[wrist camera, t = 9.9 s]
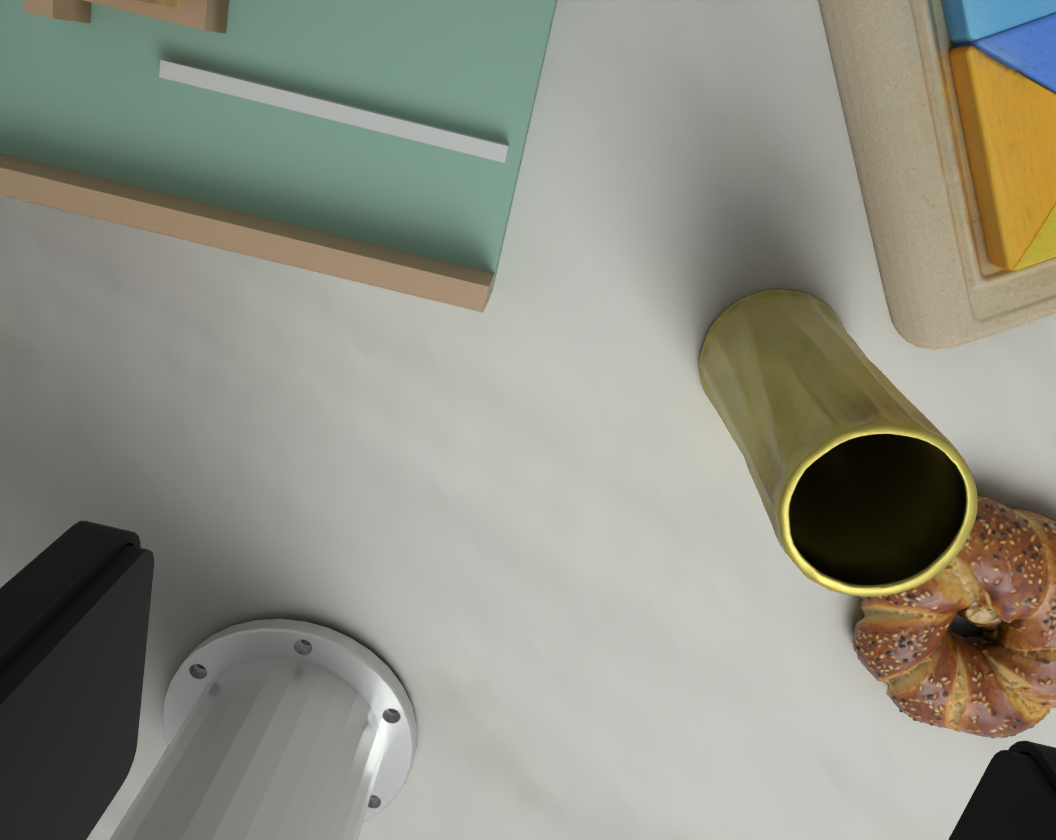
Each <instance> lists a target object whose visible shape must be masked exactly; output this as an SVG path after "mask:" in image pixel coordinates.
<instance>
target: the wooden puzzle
mask: <svg viewBox="0 0 1056 840" xmlns="http://www.w3.org/2000/svg"><path fill="white" fill-rule="evenodd" d="M819 5H820V9H821V14H822V18H823V23H824V27H825V32H826V36H827V41H828V45H829V50H830V54H831V59H832V63H833V68H834V72H835V77H836V81H837V85H838V90H839V94H840V99H841V103H842V108H843V112H844V117H845V121H846V126H847V130H848V134H849V139H850V143H851V148H852V152H853V157H854V161H855V165H856V170H857V174H858V179H859V183H860V187H861V192H862V196H863V201H864V205H865V209H866V214H867V218H868V223H869V227H870V231H871V236H872V240H873V245H874V249H875V253H876V258H877V262H878V267H879V271H880V275H881V280H882V284H883V288H884V292H885V296H886V301H887V305H888V309H889V313H890V317H891V320H892V323H893V325H894V327H895V329H896V330H897V332H898V333H899V334H900V335H901V336H902V337H903V338H904V339H905V340H906V341H908V342H909V343H911V344H913V345H915V346H918V347H921V348H926V349H943V348H950V347H955V346H959V345H963V344H966V343H969V342H972V341H975V340H978V339H981V338H984V337H987V336H990V335H993V334H996V333H999V332H1002V331H1005V330H1008V329H1010V328H1013V327H1016V326H1019V325H1022V324H1025V323H1028V322H1031V321H1034V320H1037V319H1040V318H1043V317H1046V316H1049V315H1052V314H1055V313H1056V0H819Z"/></svg>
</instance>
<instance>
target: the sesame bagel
mask: <svg viewBox="0 0 1056 840" xmlns="http://www.w3.org/2000/svg"><path fill="white" fill-rule="evenodd" d="M977 500H978V505H977V514H976V519H975V522H974V525H973V527H972V530H971V532H970V534H969V536H968V538H967V540H966V542H965V544H964V546H963V547H962V549H961V550H960V552H959V553H958V554H957V555H956V557H955V558H954V559H953V560H952V561H951V562H950V563H949V564H948V565H947V566H946V567H945V568H944V569H943V570H941V571H940V572H939V573H938V574H937V575H935V576H934V577H933V578H932V579H930V580H928V581H927V582H925V583H924V584H922V585H919V586H917V587H915V588H912V589H909V590H906V591H903V592H900V593H896V594H891V595H885V596H875V597H861V596H860V597H861V598H860V601H861V609H862V610H863V612H864V615H865V617H864V618H863V619H862V620H860V621H859V622H857V623H856V626H855V631H854V636H853V640H852V642H853V647H854V650H855V651H856V653H857V655H858V657H857V658H858V659H859V660H860V661H861V663H862V664H863V665H864V666H865V667H866V668H867V670H868V671H869V672H870V673H871V674H872V675H873V676H874V677H875V678H876V680H877V681H883V682H885V683H887V685H888V689H887V692H886V693H887V695H888V696H889V697H890V698H891V700H892V701H893V702H894V703H895V705H896V706H897V707H898V708H899V711H900V712H904V713H905V714H907V715H908V716H909V717H911V718H913V720H914V721H919V722H921V723H927V724H930V725H931V726H932V725H935V726H938V727H944V728H949V729H953V730H955V731H958V732H961V731H962V732H966V733H970V734H974V735H978V736H983V737H990V738H996V737H1001V738H1006V737H1008V736H1015V735H1016V734H1018V733H1021V732H1023V731H1025V730H1027V729H1029V728H1033V727H1034V725H1036V724H1037V723H1039V722H1040V721H1041V720H1042V719H1043V718H1044V717H1045V716H1046V715H1047V714H1048V713H1049V712H1050V711H1049V709H1051V708H1056V521H1055V520H1053V519H1049V518H1048V517H1047V516H1046V517H1044V516H1042V515H1040V514H1036V513H1033V512H1032V511H1027V510H1024V509H1016V508H1015V509H1011V508H1009V507H1007V506H1006V505H1004V504H1002V503H999V502H997V501H995V500H992V499H989V498H987V497H981V496H979V495H977ZM956 615H957V616H958V615H959V616H961V617H962V618H964V619H966V620H967V621H968V622H969V623H972V624H974V625H975V626H979V627H982V632H981V633H982V636H981V637H962V636H961V635H959V634H958V633H956V632H954V631H953V630H952V629H950V628H949V627H950V625H951V623H952V622H953V620H954V618H955V616H956Z"/></svg>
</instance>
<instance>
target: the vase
mask: <svg viewBox="0 0 1056 840" xmlns="http://www.w3.org/2000/svg"><path fill="white" fill-rule="evenodd" d="M699 370H700V377H701V382H702V386H703V389H704V392H705V394H706V395H707V397H708V399H709V400H710V402H711V403H712V404H713V406H714V407H715V409H716V410H717V412H718V414H719V415H720V417H721V419H722V420H723V422H724V424H725V426H726V428H727V429H728V431H729V432H730V434H731V436H732V438H733V439H734V441H735V443H736V444H737V446H738V448H739V449H740V451H741V452H742V454H743V456H744V458H745V461H746V464H747V467H748V469H749V472H750V474H751V476H752V479H753V481H754V483H755V485H756V488H757V490H758V492H759V494H760V497H761V499H762V502H763V504H764V507H765V509H766V512H767V514H768V516H769V519H770V521H771V523H772V526H773V529H774V532H775V535H776V537H777V539H778V541H779V543H780V545H781V547H782V548H783V550H784V551H785V553H786V554H787V555H788V556H789V557H790V559H791V560H792V561H793V562H794V563H795V565H796V566H797V567H798V568H799V569H800V570H801V572H802V573H803V574H804V575H805V576H806V577H807V578H809V579H810V580H812V581H814V582H816V583H817V584H819V585H821V586H823V587H825V588H827V589H829V590H832V591H835V592H839V593H843V594H847V595H853V596H861V597H875V596H885V595H891V594H896V593H900V592H903V591H906V590H909V589H912V588H915V587H917V586H919V585H922V584H924V583H925V582H927V581H928V580H930V579H932V578H933V577H934V576H935V575H937V574H938V573H939V572H940V571H941V570H943V569H944V568H945V567H946V566H947V565H948V564H949V563H950V562H951V561H952V560H953V559H954V558H955V557H956V555H957V554H958V553H959V552H960V550H961V549H962V547H963V546H964V544H965V542H966V540H967V538H968V536H969V534H970V532H971V530H972V527H973V525H974V522H975V519H976V514H977V505H978V500H977V489H976V484H975V481H974V478H973V475H972V473H971V471H970V469H969V467H968V466H967V464H966V462H965V461H964V459H963V458H962V456H961V455H960V453H959V452H958V450H957V449H956V448H955V447H954V446H953V445H952V443H951V442H950V441H949V440H948V439H947V438H946V437H945V436H944V435H943V434H942V433H941V432H940V431H939V430H938V429H937V428H936V427H935V426H934V425H933V424H932V423H931V422H930V421H929V420H928V419H927V418H926V417H925V416H924V415H923V414H922V413H921V412H920V411H919V410H918V409H917V408H916V407H915V406H914V405H913V404H912V403H911V402H910V401H909V400H908V399H907V398H906V397H905V396H904V395H903V394H902V393H901V392H900V391H899V390H898V389H897V388H896V387H895V386H894V385H893V384H892V383H891V382H890V380H889V379H888V378H887V377H886V376H885V375H884V374H883V373H882V372H881V371H880V370H879V369H878V368H877V367H876V366H875V365H874V364H873V363H872V362H871V361H870V360H869V359H868V358H867V357H866V355H865V354H864V353H863V352H862V350H861V349H860V348H859V346H858V345H857V344H856V342H855V341H854V340H853V339H852V337H851V336H850V335H849V334H847V332H846V331H845V329H844V327H843V325H842V323H841V321H840V319H839V318H838V317H837V315H836V314H835V313H834V312H833V311H832V310H831V309H830V308H829V307H828V306H827V305H826V304H824V303H823V302H821V301H820V300H818V299H817V298H815V297H813V296H812V295H810V294H807V293H804V292H799V291H794V290H784V289H772V290H765V291H761V292H757V293H754V294H751V295H749V296H746V297H744V298H742V299H740V300H738V301H736V302H735V303H734V304H732V305H731V306H729V307H728V308H727V309H726V310H725V311H724V312H723V313H722V314H721V315H720V316H719V317H718V318H717V319H716V320H715V322H714V323H713V325H712V326H711V328H710V329H709V331H708V333H707V336H706V338H705V341H704V344H703V347H702V351H701V354H700V359H699Z"/></svg>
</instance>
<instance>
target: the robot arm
mask: <svg viewBox="0 0 1056 840" xmlns="http://www.w3.org/2000/svg"><path fill="white" fill-rule="evenodd" d="M153 567H154V557H153V553H152V552H151V551H150V550H147V549H142V548H140V540H139V536H138V535H137V534H136V533H135V532H130V531H126V530H122V529H118V528H113V527H109V526H105V525H101V524H96V523H92V522H88V521H79V522H78V523H76V524H75V525H73V526H72V527H71V528H70V529H68V530H67V531H66V532H65V533H64V534H63V535H62V536H60V537H59V538H58V539H57V540H56V541H55V542H53V543H52V544H51V545H50V546H49V547H48V548H46V549H45V550H44V551H43V552H42V553H41V554H40V555H38V556H37V557H36V558H35V559H34V560H33V561H31V562H30V563H29V564H28V565H27V566H26V567H25V568H23V569H22V570H21V571H20V572H19V573H18V574H16V575H15V576H14V577H13V578H12V579H11V580H9V581H8V582H7V583H6V584H5V585H4V586H3V587H1V588H0V840H86V839H87V838H88V836H89V834H90V833H91V831H92V830H93V828H94V827H95V825H96V824H97V822H98V821H99V819H100V818H101V816H102V815H103V813H104V812H105V810H106V809H107V807H108V806H109V804H110V803H111V801H112V800H113V798H114V797H115V795H116V793H117V792H118V790H119V789H120V787H121V786H122V784H123V783H124V781H125V779H126V777H127V775H128V773H129V771H130V768H131V766H132V763H133V760H134V757H135V753H136V748H137V739H138V729H139V718H140V707H141V696H142V686H143V675H144V664H145V653H146V643H147V632H148V621H149V610H150V599H151V589H152V578H153ZM163 725H164V733H165V739H166V741H167V744H168V747H167V749H166V751H165V752H164V754H163V755H162V757H161V759H160V760H159V762H158V763H157V765H156V767H155V768H154V770H153V771H152V773H151V774H150V776H149V778H148V779H147V781H146V782H145V784H144V786H143V787H142V789H141V790H140V792H139V794H138V795H137V797H136V798H135V800H134V801H133V803H132V805H131V806H130V808H129V809H128V811H127V813H126V814H125V816H124V817H123V819H122V821H121V822H120V824H119V825H118V827H117V828H116V830H115V832H114V833H113V835H112V836H111V838H110V840H358V837H359V833H360V830H361V827H362V823H364V822H366V821H368V820H369V819H371V818H373V817H374V816H376V815H378V814H379V813H381V812H382V811H383V810H384V809H385V808H386V807H387V806H388V805H389V804H390V803H391V802H393V801H394V800H395V799H396V797H397V796H398V794H399V793H400V791H401V790H402V788H403V787H404V785H405V784H406V781H407V779H408V776H409V773H410V770H411V768H412V765H413V760H414V756H415V751H416V746H417V724H416V720H415V716H414V711H413V707H412V704H411V702H410V700H409V698H408V696H407V694H406V692H405V690H404V687H403V686H402V684H401V683H400V682H399V680H398V679H397V678H396V676H395V675H394V674H393V672H392V671H391V669H390V668H389V667H388V666H387V665H386V664H385V663H384V662H382V661H381V660H380V659H379V658H378V657H377V656H376V655H375V654H374V653H373V652H372V651H370V650H369V649H367V648H366V647H364V646H363V645H361V644H360V643H358V642H357V641H355V640H354V639H352V638H350V637H348V636H346V635H343V634H341V633H339V632H337V631H335V630H332V629H330V628H327V627H324V626H320V625H316V624H313V623H309V622H305V621H297V620H288V619H265V620H254V621H249V622H245V623H241V624H237V625H233V626H231V627H228V628H226V629H224V630H222V631H220V632H217V633H215V634H213V635H212V636H210V637H209V638H208V639H206V640H205V641H203V642H202V643H201V644H199V645H198V646H197V647H196V648H195V649H194V650H193V651H192V652H191V653H190V655H189V656H188V657H187V658H186V659H185V660H184V662H183V663H182V665H181V666H180V668H179V669H178V671H177V672H176V674H175V676H174V677H173V679H172V680H171V682H170V685H169V688H168V691H167V693H166V696H165V700H164V709H163ZM949 840H1056V748H1054V747H1050V746H1046V745H1041V744H1037V743H1033V742H1029V741H1019V742H1017V743H1015V744H1014V745H1012V746H1011V747H1010V748H1009V750H1002V751H999V752H998V753H996V754H995V755H994V757H993V758H992V760H991V761H990V763H989V765H988V767H987V769H986V771H985V772H984V774H983V776H982V778H981V780H980V782H979V784H978V786H977V787H976V789H975V791H974V793H973V795H972V797H971V799H970V801H969V802H968V804H967V806H966V808H965V810H964V812H963V814H962V816H961V817H960V819H959V821H958V823H957V825H956V827H955V829H954V830H953V832H952V834H951V836H950V838H949Z"/></svg>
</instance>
